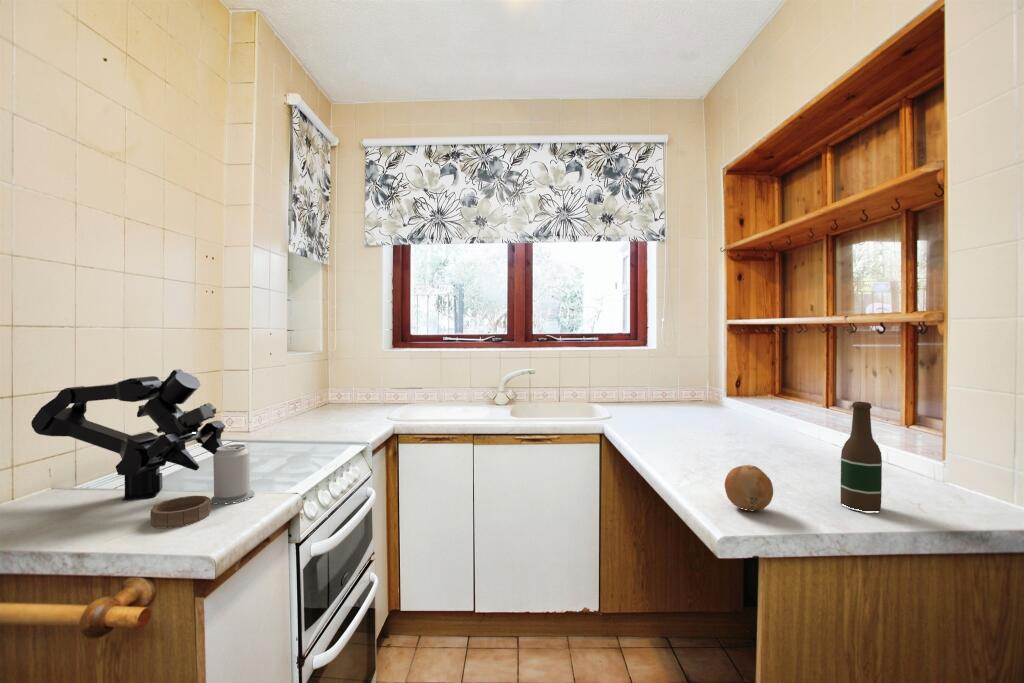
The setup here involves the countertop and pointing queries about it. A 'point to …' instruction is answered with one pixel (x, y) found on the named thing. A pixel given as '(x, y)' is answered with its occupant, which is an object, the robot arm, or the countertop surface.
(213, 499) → the mat
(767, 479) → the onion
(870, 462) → the beer bottle
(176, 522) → the collar
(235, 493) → the can
